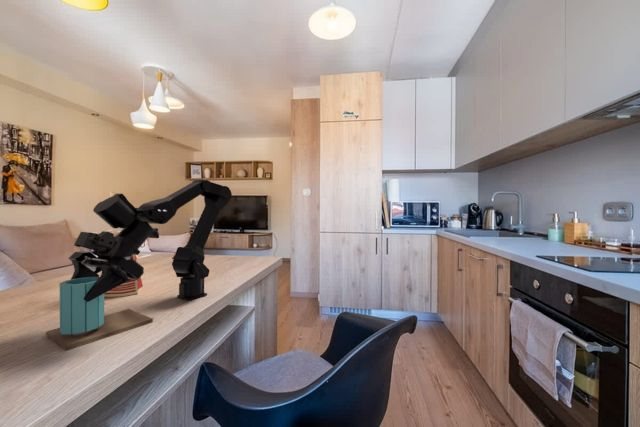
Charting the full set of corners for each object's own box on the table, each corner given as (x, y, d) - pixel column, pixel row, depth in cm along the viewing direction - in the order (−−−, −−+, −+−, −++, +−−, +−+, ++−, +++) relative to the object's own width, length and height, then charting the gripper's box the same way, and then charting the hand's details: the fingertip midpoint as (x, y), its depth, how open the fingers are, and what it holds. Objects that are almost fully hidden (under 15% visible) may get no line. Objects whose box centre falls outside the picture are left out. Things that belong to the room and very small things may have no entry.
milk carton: (112, 290, 91) (112, 231, 91) (143, 287, 94) (144, 231, 94) (101, 298, 82) (101, 233, 82) (136, 295, 86) (136, 233, 85)
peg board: (129, 311, 72) (129, 294, 72) (152, 321, 66) (152, 302, 65) (46, 335, 58) (46, 313, 58) (65, 350, 52) (65, 325, 52)
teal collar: (82, 319, 62) (82, 276, 62) (112, 320, 61) (112, 277, 61) (49, 333, 55) (49, 284, 55) (82, 335, 54) (82, 285, 54)
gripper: (78, 217, 65) (13, 273, 55) (130, 219, 58) (67, 283, 48) (113, 246, 72) (62, 299, 62) (163, 250, 65) (114, 311, 55)
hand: (75, 298), depth 57 cm, fingers closed on teal collar, 7 cm apart
